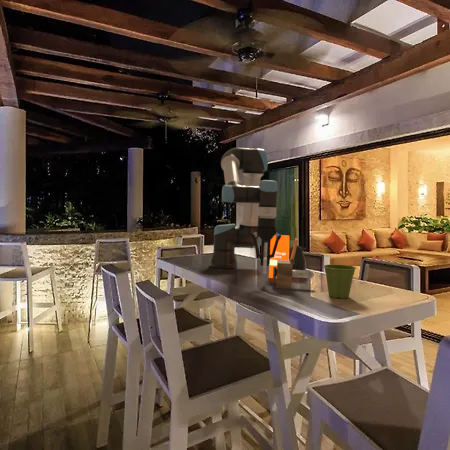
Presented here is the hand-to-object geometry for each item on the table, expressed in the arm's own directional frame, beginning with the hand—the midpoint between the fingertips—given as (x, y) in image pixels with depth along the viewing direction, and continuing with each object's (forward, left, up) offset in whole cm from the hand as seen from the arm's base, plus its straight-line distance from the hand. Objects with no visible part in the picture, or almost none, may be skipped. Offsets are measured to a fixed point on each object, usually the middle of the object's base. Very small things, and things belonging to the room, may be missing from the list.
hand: (264, 273), depth 151 cm
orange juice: (-21, +6, -5) cm, 22 cm away
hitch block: (0, +8, -5) cm, 9 cm away
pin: (0, +12, -2) cm, 12 cm away
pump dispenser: (-26, +14, -5) cm, 30 cm away
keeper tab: (0, +11, +11) cm, 15 cm away
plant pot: (+13, +28, -5) cm, 31 cm away
